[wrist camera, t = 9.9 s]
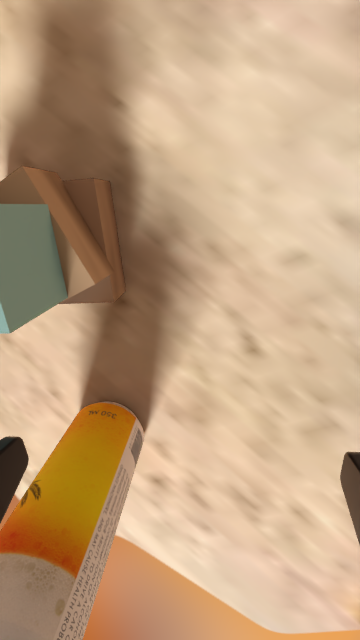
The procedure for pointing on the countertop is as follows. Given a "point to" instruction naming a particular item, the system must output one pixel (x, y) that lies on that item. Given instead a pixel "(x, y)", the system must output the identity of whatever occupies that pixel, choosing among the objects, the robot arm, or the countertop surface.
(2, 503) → the robot arm
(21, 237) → the teal cube
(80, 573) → the beer can
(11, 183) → the slab upper
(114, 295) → the slab lower
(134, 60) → the countertop surface
